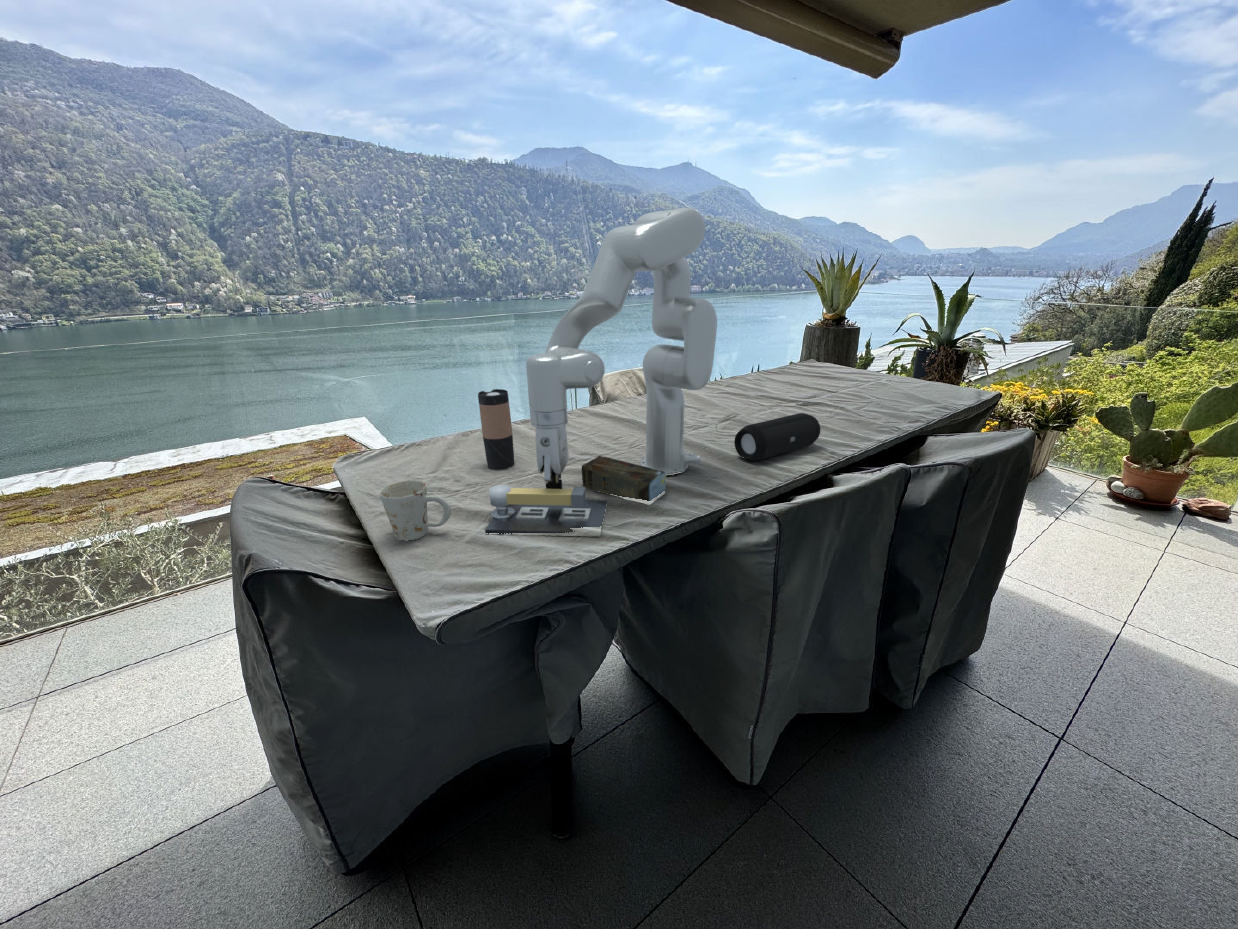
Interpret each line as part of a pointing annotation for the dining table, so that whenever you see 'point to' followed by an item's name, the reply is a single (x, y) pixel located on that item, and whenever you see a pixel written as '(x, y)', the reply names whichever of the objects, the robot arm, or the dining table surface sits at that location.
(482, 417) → the travel mug
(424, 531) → the mug
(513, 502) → the swing arm
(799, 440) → the portable speaker
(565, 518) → the chassis
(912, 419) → the dining table surface
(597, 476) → the beverage carton
